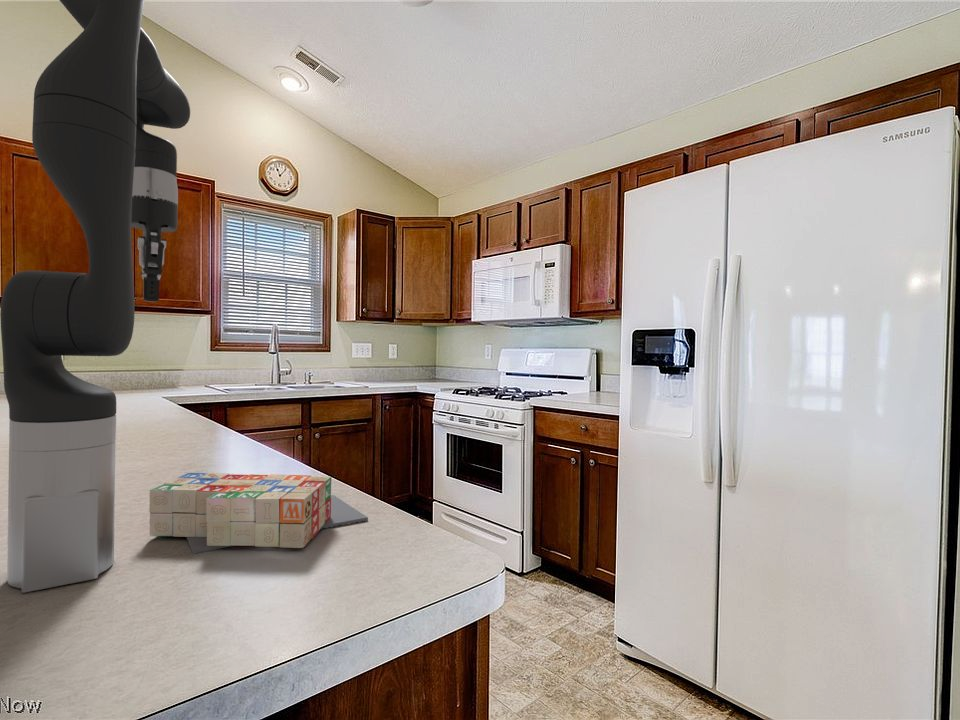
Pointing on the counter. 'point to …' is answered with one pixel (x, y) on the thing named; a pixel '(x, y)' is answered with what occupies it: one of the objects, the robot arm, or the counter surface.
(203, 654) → the counter surface
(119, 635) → the counter surface
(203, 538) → the mat
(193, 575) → the counter surface
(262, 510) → the stack of blocks
